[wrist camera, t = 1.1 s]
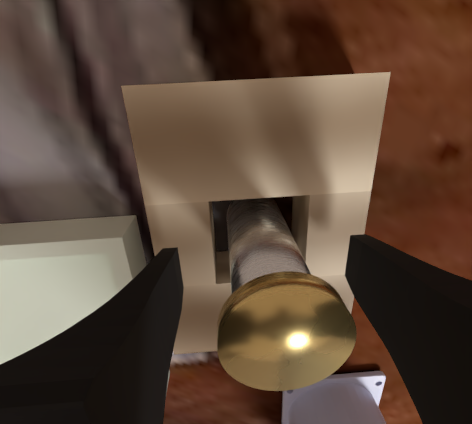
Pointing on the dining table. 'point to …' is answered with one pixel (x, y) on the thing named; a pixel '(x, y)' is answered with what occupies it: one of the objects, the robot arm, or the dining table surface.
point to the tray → (61, 275)
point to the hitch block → (254, 173)
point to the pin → (277, 306)
